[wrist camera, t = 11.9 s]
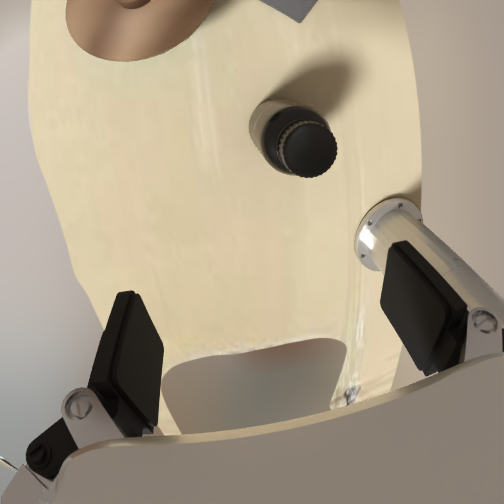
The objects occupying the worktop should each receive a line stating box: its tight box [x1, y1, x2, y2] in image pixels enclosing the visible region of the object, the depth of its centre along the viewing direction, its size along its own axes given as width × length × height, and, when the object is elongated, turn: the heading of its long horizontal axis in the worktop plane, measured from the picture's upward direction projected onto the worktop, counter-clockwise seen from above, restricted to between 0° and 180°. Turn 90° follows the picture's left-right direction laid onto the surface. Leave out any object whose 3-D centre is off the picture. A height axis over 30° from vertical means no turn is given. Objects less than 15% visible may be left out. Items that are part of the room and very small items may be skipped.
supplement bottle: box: [249, 99, 337, 178], centre depth 27 cm, size 7×7×12 cm
